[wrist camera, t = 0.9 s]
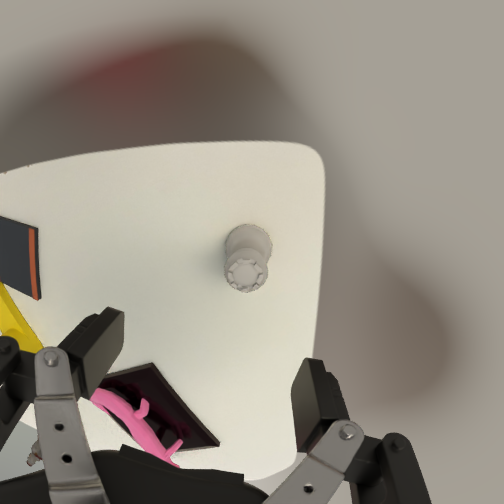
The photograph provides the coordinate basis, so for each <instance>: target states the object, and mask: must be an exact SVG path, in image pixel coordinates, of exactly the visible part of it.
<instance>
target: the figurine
mask: <svg viewBox="0 0 504 504" xmlns="http://www.w3.org/2000/svg"><path fill="white" fill-rule="evenodd" d="M31 449H32V453H30V454H29V457H28V460H27V464H28V465H29V466H32V465H33V464H35V462H36V461H40V460H43V459H42V454H41V449H40V444H39V438H38V440H37V441H36V442H35V443H34V444H33V446H32V448H31Z"/></svg>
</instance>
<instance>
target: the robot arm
mask: <svg viewBox="0 0 504 504" xmlns="http://www.w3.org/2000/svg"><path fill="white" fill-rule="evenodd" d="M123 342H124V312H123V311H120V310H117V309H114V308H111V307H106V308H105V309H104V310H103V311H102V313H101V314H100V315H98V314H92V315H90V316H88V317H86V318H85V319H84V320H83V321H82V322H81V323H80V324H79V325H78V326H77V327H76V328H75V329H74V330H73V331H72V332H71V333H70V334H69V335H68V336H67V337H66V338H65V339H64V340H63V341H62V342H61V343H60V344H59V345H58V346H57V347H45V348H42V349H40V350H39V351H38V352H37V353H32V352H28V351H23V350H20V348H19V344H18V342H17V340H16V339H14V338H13V337H10V336H0V386H1V385H2V384H3V385H2V386H1V388H0V451H1V449H2V448H3V446H4V444H5V443H6V440H7V439H8V438H9V436H10V434H11V433H12V431H13V429H14V428H15V426H16V424H17V423H18V421H19V420H20V418H21V417H22V415H23V414H24V412H25V411H26V409H27V408H28V406H29V405H30V403H33V404H34V409H35V417H36V425H37V432H38V438H39V444H40V449H41V454H42V459H43V463H44V468H45V469H42V470H39V471H36V472H33V473H30V474H26V475H23V476H19V477H15V478H12V479H8V480H4V481H0V504H327V503H328V502H329V500H330V499H331V497H332V496H333V494H334V493H335V491H336V490H337V488H338V487H339V485H340V484H341V482H342V481H343V480H344V481H348V482H349V484H350V490H351V497H352V504H432V503H431V500H430V497H429V494H428V491H427V488H426V485H425V482H424V479H423V476H422V473H421V470H420V467H419V464H418V462H417V459H416V456H415V453H414V451H413V448H412V445H411V443H410V441H409V440H408V439H407V438H406V437H405V436H403V435H401V434H399V433H389V434H387V435H385V437H384V438H383V439H382V440H381V439H377V438H373V437H369V436H366V435H364V432H363V430H362V429H361V427H360V426H359V425H357V424H356V423H355V422H352V421H350V418H349V415H348V411H347V408H346V405H345V402H344V399H343V397H342V393H341V391H340V386H339V384H338V380H337V379H336V378H335V377H334V376H333V375H332V373H331V372H326V370H325V367H324V364H323V361H322V360H318V359H312V358H305V359H304V360H303V362H302V364H301V366H300V369H299V371H298V373H297V375H296V377H295V379H294V381H293V384H292V388H291V401H292V410H293V418H294V427H295V436H296V445H297V452H304V453H307V456H306V457H305V458H304V459H303V461H302V462H301V463H300V464H299V465H298V466H297V467H296V469H295V470H294V471H293V472H292V473H291V474H290V475H289V476H288V477H287V478H286V480H285V481H284V482H283V483H282V484H281V485H280V486H279V487H278V488H277V489H276V490H275V491H274V492H273V493H272V494H271V495H270V496H269V495H267V494H266V493H265V492H263V491H262V490H260V489H259V488H257V487H255V486H253V485H251V484H249V483H246V482H244V474H239V473H233V472H226V471H220V470H215V469H181V468H178V467H176V466H174V465H172V464H170V463H168V462H166V461H164V460H162V459H160V458H158V457H156V456H155V455H153V454H151V453H148V452H144V451H141V450H138V449H136V448H133V447H130V446H127V445H124V444H122V446H121V448H120V451H118V450H99V451H93V452H91V450H90V447H89V444H88V441H87V438H86V434H85V431H84V427H83V424H82V420H81V416H80V412H79V408H78V404H77V401H78V400H79V398H80V397H83V398H85V399H87V400H90V398H91V397H92V395H93V394H94V392H95V390H96V389H97V387H98V386H99V384H100V383H101V381H102V379H103V378H104V376H105V375H106V373H107V372H108V370H109V369H110V367H111V366H112V364H113V363H114V361H115V360H116V358H117V357H118V355H119V354H120V352H121V350H122V347H123Z"/></svg>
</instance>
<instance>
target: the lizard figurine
mask: <svg viewBox="0 0 504 504" xmlns="http://www.w3.org/2000/svg"><path fill="white" fill-rule="evenodd" d="M90 401H91V402H92V403H93V404H94V405H95V406H97V407H98V408H100V409H101V410H103V411H104V412H106V413H107V414H108V415H109V416H110V417H111V418H112V419H113V420H114V421H115V422H116V423H117V424H118V425H119V426H120V427H121V428H122V429H123V430H124V431H125V432H126V433H127V434H128V435H129V436H130V437H131V438H132V439H133V440H134V441H135V442H136V443H137V444H138V445H140V446H141V447H142V448H143V449H144V450H145V451H146V452H148V453H151V454H153V455H155V456H156V457H158V458H160V459H162V460H164V461H166V462H168V463H170V464H172V465H174V466H176V467H178V468H180V467H179V465H177V464H175V463H173V462H172V461H171V459H170V456H171V455H172V454H173V453H174V452H181V451H191V450H199V449H207V448H214V447H219V446H220V442H219V441H218V440H217V439H216V438H215V437H214V436H213V434H212V433H211V432H210V431H209V430H208V429H207V428H206V427H205V426H204V425H203V424H202V423H201V421H200V420H199V419H198V418H197V417H196V416H195V415H194V414H193V412H192V411H191V410H190V409H189V408H188V407H187V405H186V404H185V403H184V402H183V401H182V400H181V398H180V397H179V396H178V395H177V393H176V392H175V391H174V390H173V389H172V387H171V386H170V385H169V384H168V382H167V381H166V380H165V378H164V377H163V376H162V374H161V373H160V372H159V371H158V369H157V368H156V367H155V365H154V364H153V363H149V364H145V365H142V366H138V367H134V368H130V369H127V370H123V371H119V372H115V373H111V374H107V375H105V376H104V378H103V379H102V381H101V383H100V384H99V386H98V387H97V389H96V390H95V392H94V394H93V395H92V397H91V398H90Z"/></svg>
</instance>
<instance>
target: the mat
mask: <svg viewBox="0 0 504 504" xmlns="http://www.w3.org/2000/svg"><path fill="white" fill-rule="evenodd" d="M0 282H2V283H4V284H6V285H8V286H10V287H12V288H14V289H16V290H18V291H20V292H22V293H24V294H26V295H28V296H30V297H32V298H33V299H35V300H37V301H38V300H39V299H41V290H40V278H39V259H38V228H36V227H32V226H29V225H26V224H23V223H20V222H17V221H14V220H11V219H7V218H4V217H1V216H0Z"/></svg>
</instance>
